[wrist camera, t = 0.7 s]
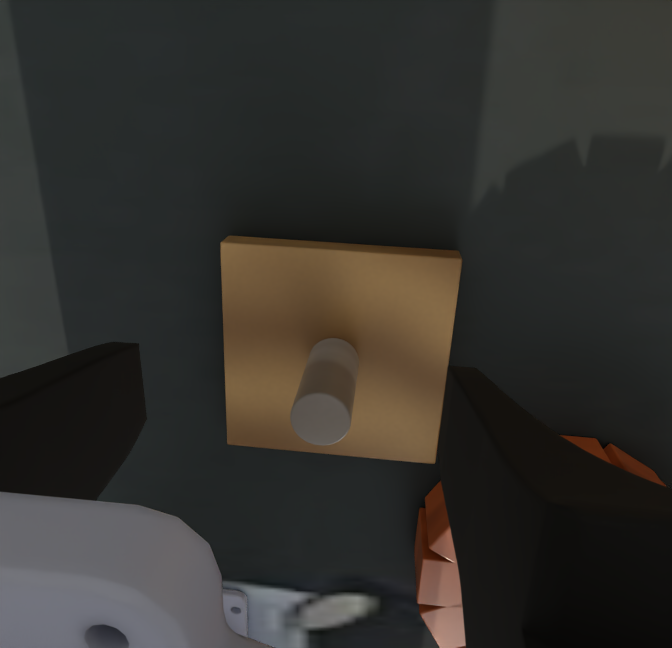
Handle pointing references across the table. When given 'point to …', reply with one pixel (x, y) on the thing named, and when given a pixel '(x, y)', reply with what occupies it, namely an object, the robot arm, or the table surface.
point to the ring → (440, 559)
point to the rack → (337, 346)
